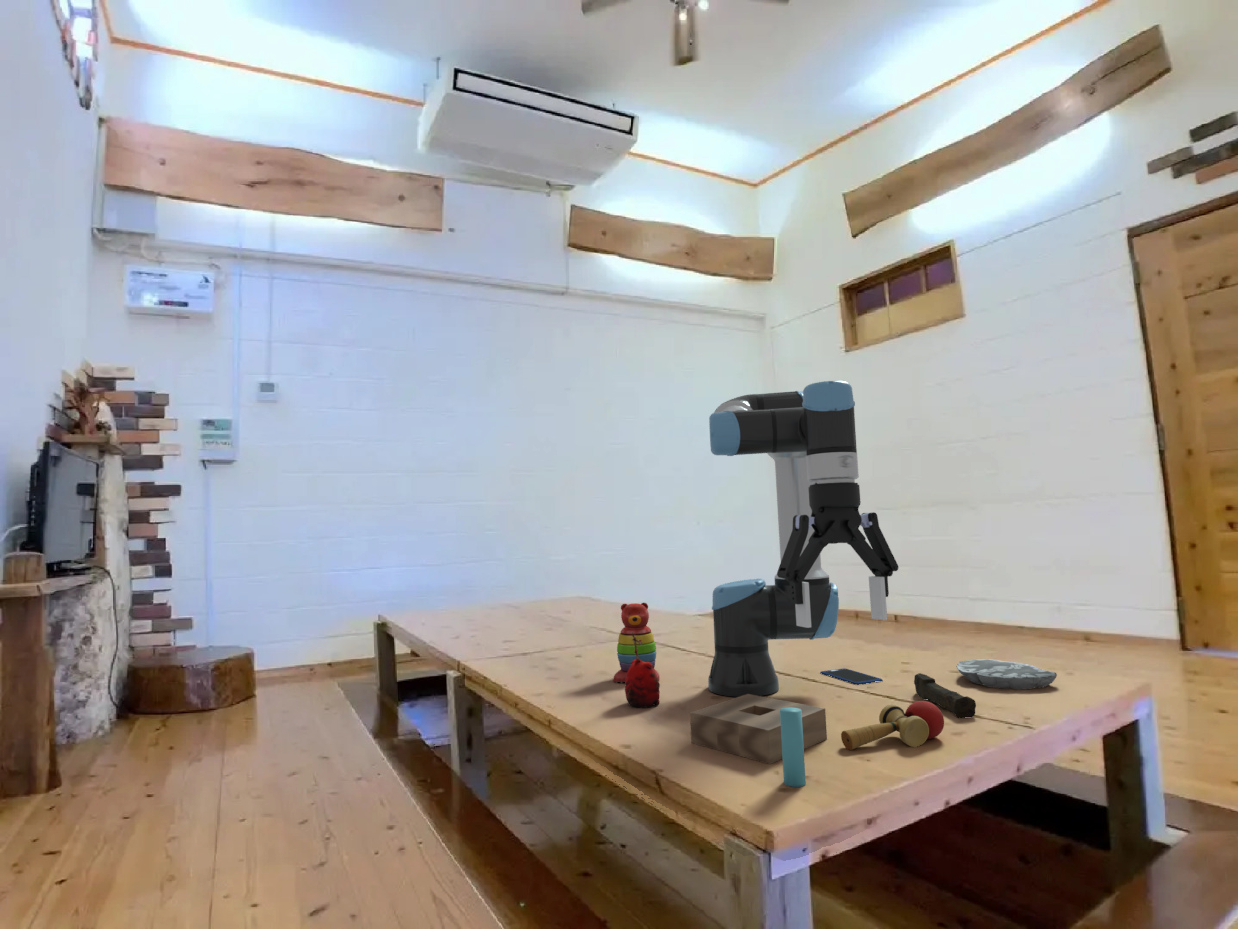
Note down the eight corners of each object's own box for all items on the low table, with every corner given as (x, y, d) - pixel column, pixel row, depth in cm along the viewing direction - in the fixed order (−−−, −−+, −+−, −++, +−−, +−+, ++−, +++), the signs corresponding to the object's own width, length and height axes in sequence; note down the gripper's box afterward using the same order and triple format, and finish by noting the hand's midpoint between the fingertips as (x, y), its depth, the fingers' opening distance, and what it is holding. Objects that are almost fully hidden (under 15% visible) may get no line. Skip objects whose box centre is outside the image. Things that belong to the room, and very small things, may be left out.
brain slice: (935, 679, 158) (934, 665, 159) (989, 670, 165) (988, 657, 165) (1015, 698, 141) (1013, 682, 141) (1072, 687, 147) (1071, 672, 147)
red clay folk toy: (667, 704, 146) (664, 629, 147) (645, 711, 140) (642, 634, 141) (639, 698, 151) (636, 626, 152) (617, 706, 145) (614, 631, 147)
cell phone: (844, 671, 170) (844, 668, 170) (884, 683, 157) (884, 679, 157) (818, 674, 168) (818, 671, 168) (856, 687, 155) (856, 683, 155)
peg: (779, 783, 100) (775, 710, 101) (791, 777, 102) (787, 706, 103) (797, 788, 98) (793, 714, 99) (809, 782, 100) (805, 709, 101)
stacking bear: (612, 683, 165) (609, 606, 167) (618, 674, 175) (615, 601, 177) (658, 683, 164) (655, 605, 165) (661, 673, 174) (658, 600, 175)
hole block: (691, 742, 120) (689, 712, 120) (749, 721, 131) (748, 693, 131) (770, 764, 108) (768, 730, 108) (827, 739, 119) (825, 708, 119)
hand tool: (978, 719, 127) (976, 693, 128) (956, 720, 127) (954, 693, 128) (930, 694, 146) (928, 671, 147) (910, 694, 146) (909, 671, 147)
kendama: (867, 767, 109) (961, 736, 114) (855, 725, 110) (948, 695, 116) (840, 761, 116) (929, 731, 122) (829, 721, 117) (918, 694, 123)
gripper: (776, 481, 102) (784, 633, 100) (916, 479, 110) (926, 619, 108) (749, 485, 109) (757, 626, 107) (883, 483, 117) (892, 614, 115)
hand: (842, 623), depth 107 cm, fingers open, 13 cm apart
